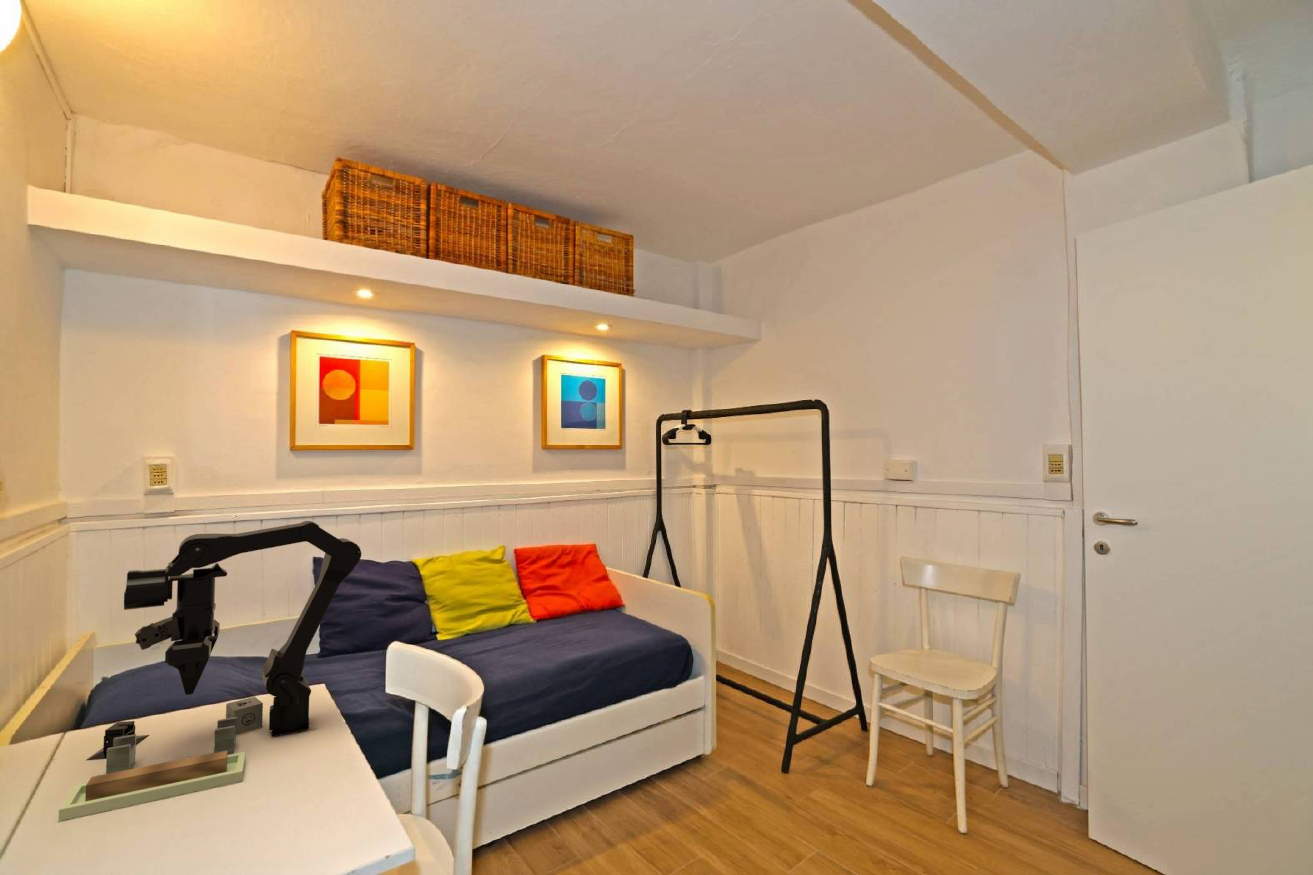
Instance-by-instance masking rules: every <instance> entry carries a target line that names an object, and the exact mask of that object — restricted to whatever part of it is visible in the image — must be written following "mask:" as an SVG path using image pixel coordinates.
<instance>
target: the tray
mask: <svg viewBox="0 0 1313 875" xmlns="http://www.w3.org/2000/svg"><path fill="white" fill-rule="evenodd" d="M246 754H247V752H246V751H241V752H237V753H235V752H234V754H230V755H227V770H226V772H224V773H220V774H215V775H210V776H205V777H200V778H196V779H191V780H186V781H181V782H176V783H172V784H167V785H162V786H157V787H153V788H148V789H143V790H138V791H133V792H129V793H124V794H119V795H114V796H109V797H105V798H100V799H95V800H90V801H85V796H86V785H87V783H88V782H85V783H79V784H75V785H74V786H73V787H72V789H71V791H70V792H69V794H68V796H67V797H66V798H65V799H64V801H63V803H62V805H61V806H60V807H59V809H58V822H61V821H67V820H71V819H75V818H76V819H77V818H81V817H85V816H89V815H94V814H97V813H98V814H99V813H102V812H107V811H113V810H117V809H121V808H122V809H123V808H126V807H130V806H131V807H132V806H136V805H140V804H145V803H149V802H154V801H158V800H164V799H167V798H168V799H169V798H171V797H176V796H177V797H178V796H180V795H182V796H183V795H185V794H191V793H195V792H200V791H204V790H208V789H213V788H218V787H223V786H228V785H232V784H236V783H242V782H243V777H244V771H245V765H246V758H247V757H246Z"/></svg>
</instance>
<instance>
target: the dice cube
mask: <svg viewBox="0 0 1313 875" xmlns="http://www.w3.org/2000/svg"><path fill="white" fill-rule="evenodd" d="M263 708H264V703H263V702H262V701H261V700H260V699H258V697H256V696H251V697H248V698H244V699H243V698H242V699H240V700H235V701H232V702H228V703H226V705H225V709H226V710H225V719H226V718H232V717H237V732H236V736H238V735H241V734H245V733H247V732H251V731H255V730H258V729H262V728H263V714H264V713H263V711H264V710H263Z"/></svg>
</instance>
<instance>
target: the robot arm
mask: <svg viewBox="0 0 1313 875" xmlns="http://www.w3.org/2000/svg"><path fill="white" fill-rule="evenodd" d="M303 542H305V543H309V544H310V545H312V546H313V547H315V548H317V549H319V550H320V551H322V552H323V553H324V555H323V560H322V563H321V568H320V572H319V578H318V579H317V582H316V583H315V586H314V588H313V590H312V591H311V593H310V595H309V597H308V599H307V601H306V603H305V605H304V607H303V609H302V611H301V613H300V615H299V617H298V619H297V621H296V623H295V625H294V626H293V629H292V630H291V633H290V635H289V636H288V638H287V640H286V642H284V644H283V646H281V648H280V649H279V650H277V649H274V648H271V649H270V652H269V655H268V657H267V660H266V661H265V662H264V664H263V665H262V666H261V671H262V681H263V684H264V686H265V689H266V692H267V693H268V694H269V695H270V696H273V699H272V700H273V701H272V705H270V706H269V714H268V715H269V719H268V720H269V721H268V731H269V732H271V733H270V734H271V737H272V738H273V737H277V736H278V737H279V736H283V735H284V736H285V735H289V734H293V733H300V732H305V731H308V730H310V696H311V694H312V688H311V687H310V685H309V684H308V682H307V679H306V678H305V677H304V675H303V676H302V674H303V673H302V672H303V670H304V667H305V660H306V655H307V652H308V651H307V650H308V649H309V647H310V645H311V643H312V641H313V638H314V637H315V634H316V633H317V631H318V629H319V627H320V625H321V623H322V620H323V619H324V616H325V615H326V613H327V611H328V610H329V607H330V604H331V603H332V601H333V598H334V597H335V595H336V593H337V591H338V589H339V587H340V586H341V584H343V582H344V581H345V580H346V579H347V578H348V577H349V575H350V574H351V573H352V572H353V571H354V570H355V568H356V566H357V565H358V564H359V562H360V561H361V558H362V550H361V547H360V546H359V545H358V544H357V543H355V542H354V541H352V540H349V539H347V538H344V537H341V538H338V537H336V536H334V535H332V534H331V533H329V532H328V531H326V530H324V529H323V528H322V527H320V525H318V524H317V523H316V522H314V521H311V520H304V521H301V522H298V523H291V524H287V525H280V526H276V527H275V526H274V527H269V528H264V529H263V528H262V529H256V530H251V531H246V532H238V533H196V534H191V535H189V536H186V537H185V538H184V539H183V540H182V542H181V543H180V545H178V546H179V547H178V554H176V556H175V557H174V558H173V559H172V560H171V561H170V562H168V564H167V566H166V568H161V569H149V570H137V569H136V570H134V569H133V570H128V571H127V573H126V586H125V590H124V591H123V592H124V593H123V609H124V611H128V610H137V609H145V608H146V609H147V608H155V607H162V606H163V607H165V603H166V602H168V601H170V600H173V585H174V584H173V583H174V582H176V581H177V585H176V586H177V587H176V609H175V611H174V612H172V616H170V617H166V618H164V619H160V620H159V621H156V622H154V623H153V622H152V623H149V625H146V626H145V625H144V626H142V627H141V628H140V629H138V630H137V631H136V632H135V633H134V636H135V638H136V639H135V644H137V645H139V647H140V649H141V650H142V651H143V650H147V649H149V648H151V646H154V645H156V644H157V645H158V644H159V643H161V642H163V641H166V640H169V639H170V642H173V643H172V644H170V645H169V646H168V648H167V649H166V651H165V654H164V655H165V656H164V664H167V665H168V666H169V667H173V668H175V669H177V670H178V673H179V676H180V680H181V683H182V686H183V690H184V694H185V695H186V696H189V695H193V694H194V692H195V691H196V688H197V686H198V684H199V681H200V679H201V677H202V675H203V672H204V671H205V669H206V666H207V664H208V662H209V659H210V657H211V654H212V651H213V649H214V648H215V645H216V644H217V640H218V639H219V634H220V628H221V627H220V626H221V624H220V622H218V621H217V620H216V619H215V610H216V604H217V603H215V595H216V594H215V593H216V591H215V590H216V588H215V587H216V578H224V577H227V576H228V572H227V570H226V569H224V568H223V567H221V566H220V564H219V562H222V561H224V560H226V559H227V560H228V559H229V558H232V557H235V556H237V555H240V554H245V553H250V552H255V551H262V550H266V549H272V548H277V547H282V546H283V547H284V546H289V545H294V544H297V543H298V544H300V543H303ZM213 564H214V565H213ZM210 565H212V566H211V567H208V566H210ZM206 566H207V567H206ZM191 569H193V570H192V573H187V574H185V573H186V572H189V571H190V570H191ZM213 634H214V635H213Z"/></svg>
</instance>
